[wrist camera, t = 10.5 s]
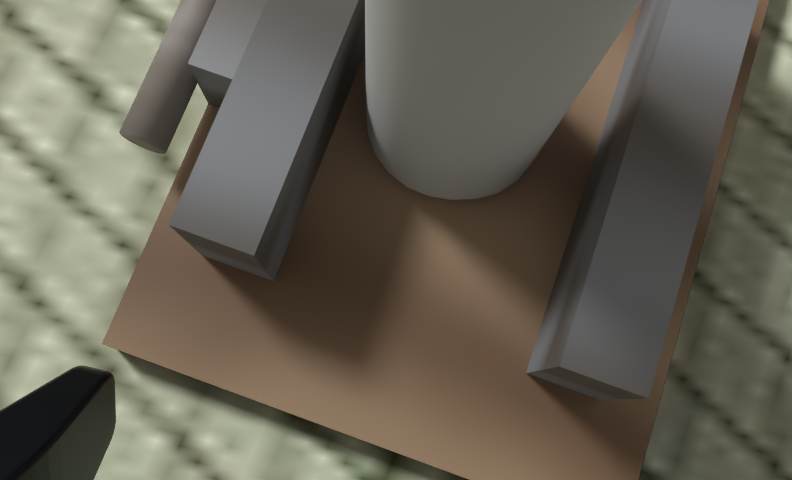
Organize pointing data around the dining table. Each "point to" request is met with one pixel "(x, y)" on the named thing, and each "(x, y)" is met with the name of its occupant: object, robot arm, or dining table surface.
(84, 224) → the dining table surface
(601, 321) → the vise
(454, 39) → the beverage can
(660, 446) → the dining table surface
